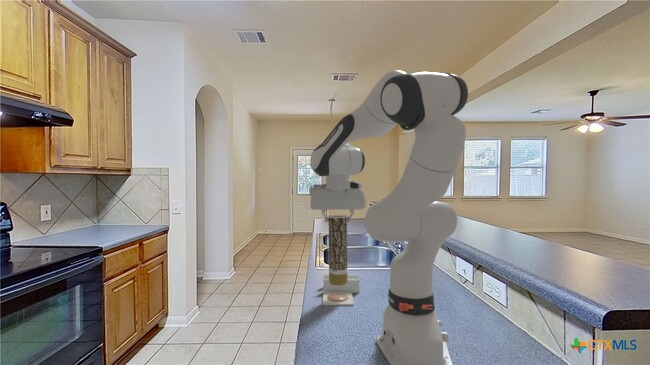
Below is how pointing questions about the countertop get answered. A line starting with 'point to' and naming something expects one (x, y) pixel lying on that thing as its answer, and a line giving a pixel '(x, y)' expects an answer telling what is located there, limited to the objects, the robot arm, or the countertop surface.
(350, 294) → the resting pad
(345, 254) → the wooden log
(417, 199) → the robot arm
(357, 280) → the low walls
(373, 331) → the countertop surface
